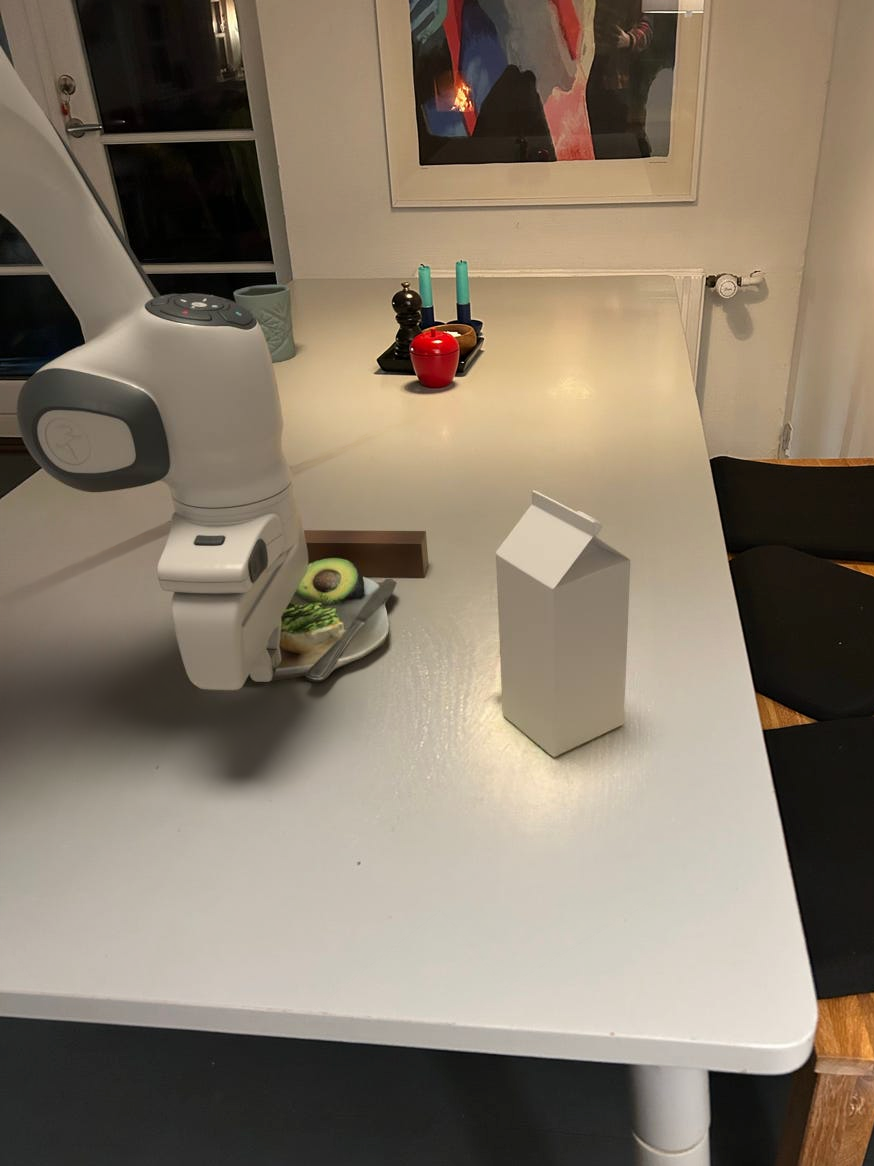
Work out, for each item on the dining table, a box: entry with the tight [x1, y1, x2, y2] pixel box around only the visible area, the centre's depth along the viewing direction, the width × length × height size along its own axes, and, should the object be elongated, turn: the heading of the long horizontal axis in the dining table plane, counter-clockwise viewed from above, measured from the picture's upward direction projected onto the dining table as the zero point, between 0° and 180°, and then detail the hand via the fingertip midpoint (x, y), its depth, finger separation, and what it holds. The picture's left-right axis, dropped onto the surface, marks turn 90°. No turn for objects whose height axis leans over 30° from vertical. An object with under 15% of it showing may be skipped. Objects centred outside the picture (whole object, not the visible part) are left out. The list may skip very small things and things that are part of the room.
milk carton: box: [495, 490, 631, 758], centre depth 72 cm, size 7×7×19 cm
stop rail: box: [303, 529, 430, 578], centre depth 101 cm, size 18×3×4 cm, turn 84°
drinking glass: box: [233, 284, 296, 363], centre depth 174 cm, size 10×10×12 cm
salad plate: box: [248, 558, 398, 682], centre depth 88 cm, size 19×18×5 cm
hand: (267, 672), depth 79 cm, fingers closed
